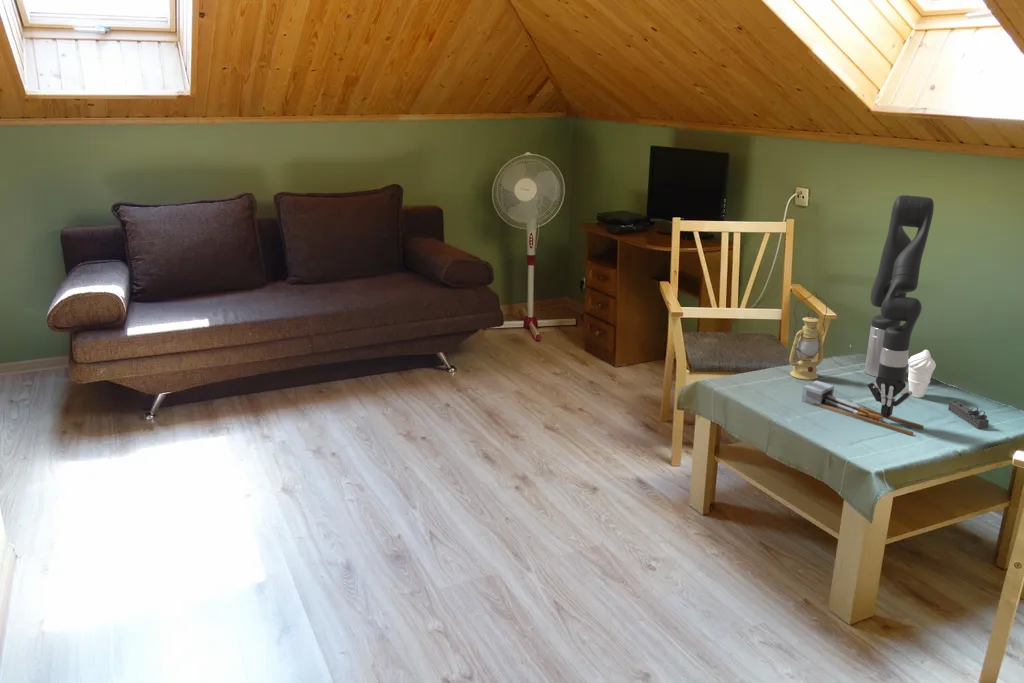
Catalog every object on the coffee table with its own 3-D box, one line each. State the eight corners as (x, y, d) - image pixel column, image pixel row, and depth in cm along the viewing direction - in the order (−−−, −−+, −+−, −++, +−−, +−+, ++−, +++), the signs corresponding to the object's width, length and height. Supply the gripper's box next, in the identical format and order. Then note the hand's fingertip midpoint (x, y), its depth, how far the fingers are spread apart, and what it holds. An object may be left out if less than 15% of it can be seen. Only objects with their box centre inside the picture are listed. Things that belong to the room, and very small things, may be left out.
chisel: (884, 416, 249) (879, 414, 247) (881, 425, 249) (875, 423, 247) (833, 396, 264) (828, 394, 263) (829, 404, 264) (824, 402, 263)
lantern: (792, 381, 281) (802, 297, 272) (782, 371, 291) (791, 289, 281) (826, 380, 282) (837, 296, 272) (815, 370, 291) (825, 289, 282)
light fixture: (957, 410, 258) (960, 394, 256) (987, 429, 244) (990, 412, 242) (947, 410, 258) (950, 394, 256) (976, 430, 243) (980, 412, 242)
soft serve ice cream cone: (905, 398, 266) (912, 352, 261) (900, 389, 274) (907, 344, 269) (933, 401, 264) (941, 354, 259) (927, 391, 272) (934, 346, 267)
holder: (814, 395, 269) (816, 380, 267) (923, 428, 244) (926, 412, 242) (801, 401, 264) (803, 386, 262) (911, 435, 239) (914, 419, 237)
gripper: (921, 364, 240) (913, 419, 245) (877, 354, 250) (870, 407, 255) (910, 370, 235) (902, 426, 240) (865, 359, 245) (858, 413, 250)
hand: (885, 416), depth 248 cm, fingers closed
